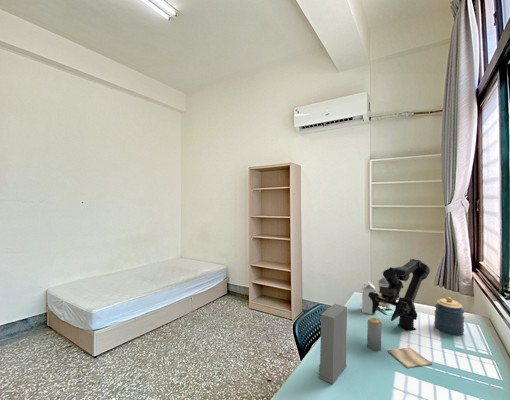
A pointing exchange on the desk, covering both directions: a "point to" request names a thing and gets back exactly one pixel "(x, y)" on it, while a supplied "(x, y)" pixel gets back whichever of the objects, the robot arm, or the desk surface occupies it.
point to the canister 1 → (374, 334)
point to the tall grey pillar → (333, 343)
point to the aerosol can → (384, 284)
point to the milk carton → (367, 297)
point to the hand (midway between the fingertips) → (381, 316)
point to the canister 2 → (449, 316)
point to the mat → (409, 357)
